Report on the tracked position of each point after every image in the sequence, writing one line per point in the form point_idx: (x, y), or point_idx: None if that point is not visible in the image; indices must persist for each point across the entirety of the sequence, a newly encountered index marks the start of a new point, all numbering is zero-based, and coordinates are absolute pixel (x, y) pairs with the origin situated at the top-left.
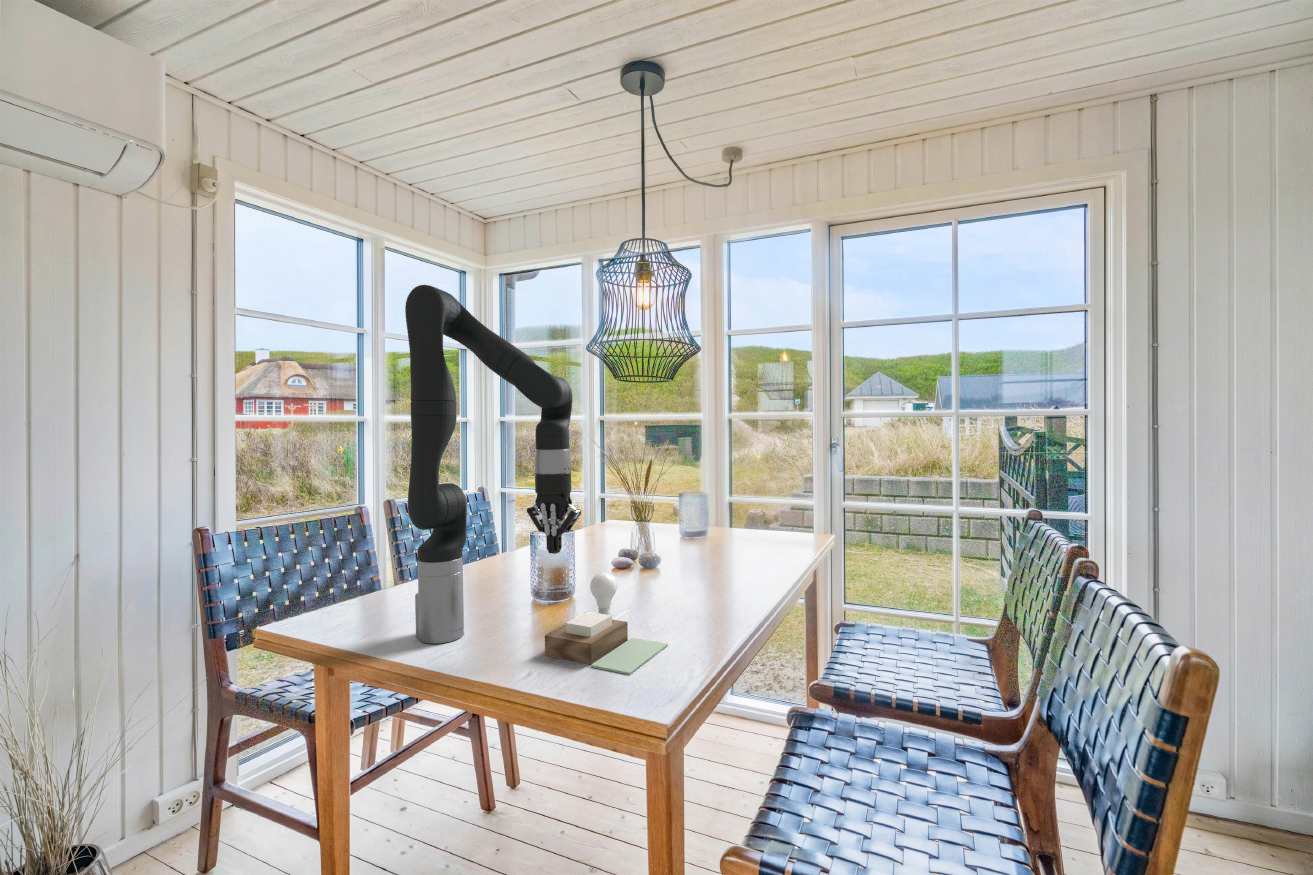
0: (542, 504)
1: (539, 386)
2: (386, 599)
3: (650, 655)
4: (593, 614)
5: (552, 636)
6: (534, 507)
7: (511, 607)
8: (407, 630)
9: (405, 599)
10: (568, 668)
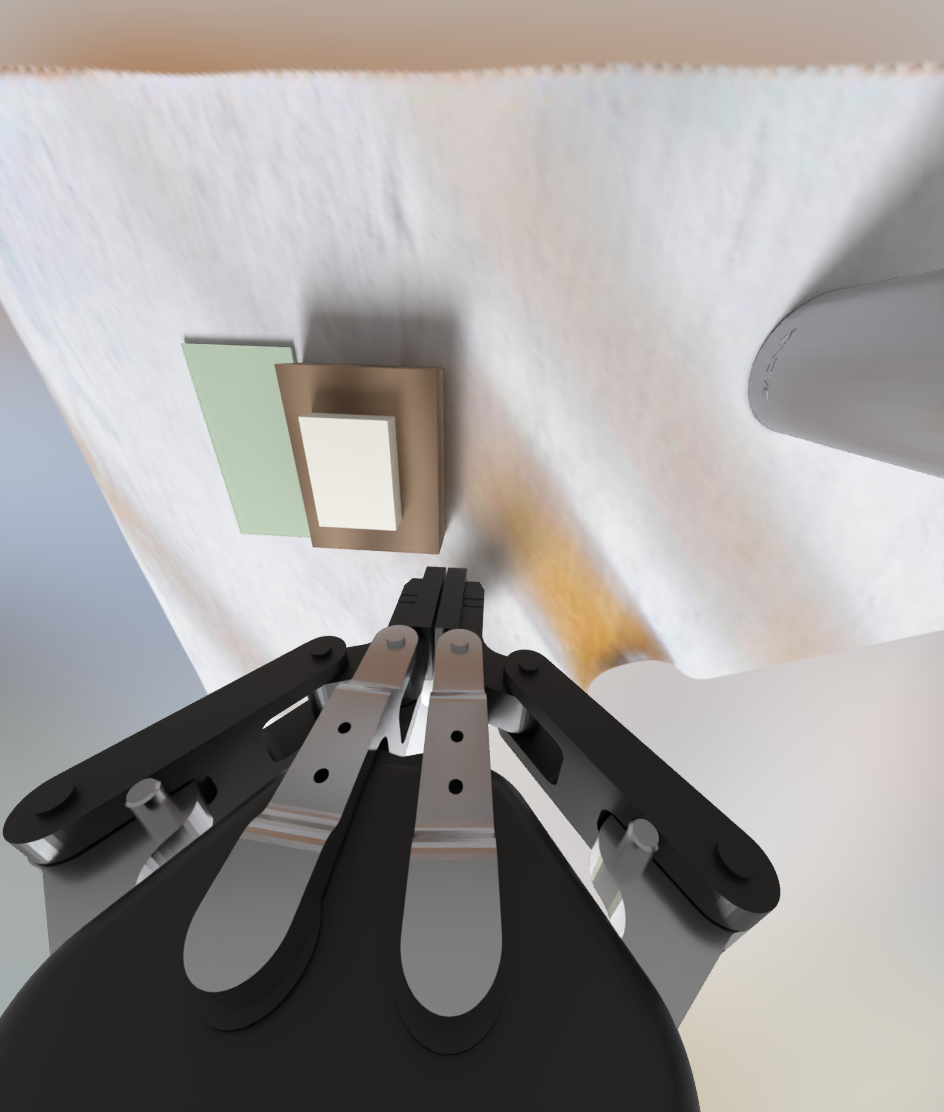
0: (462, 975)
1: None
2: None
3: (222, 461)
4: (366, 515)
5: (409, 371)
6: (676, 927)
7: (705, 617)
8: None
9: None
10: (333, 311)
